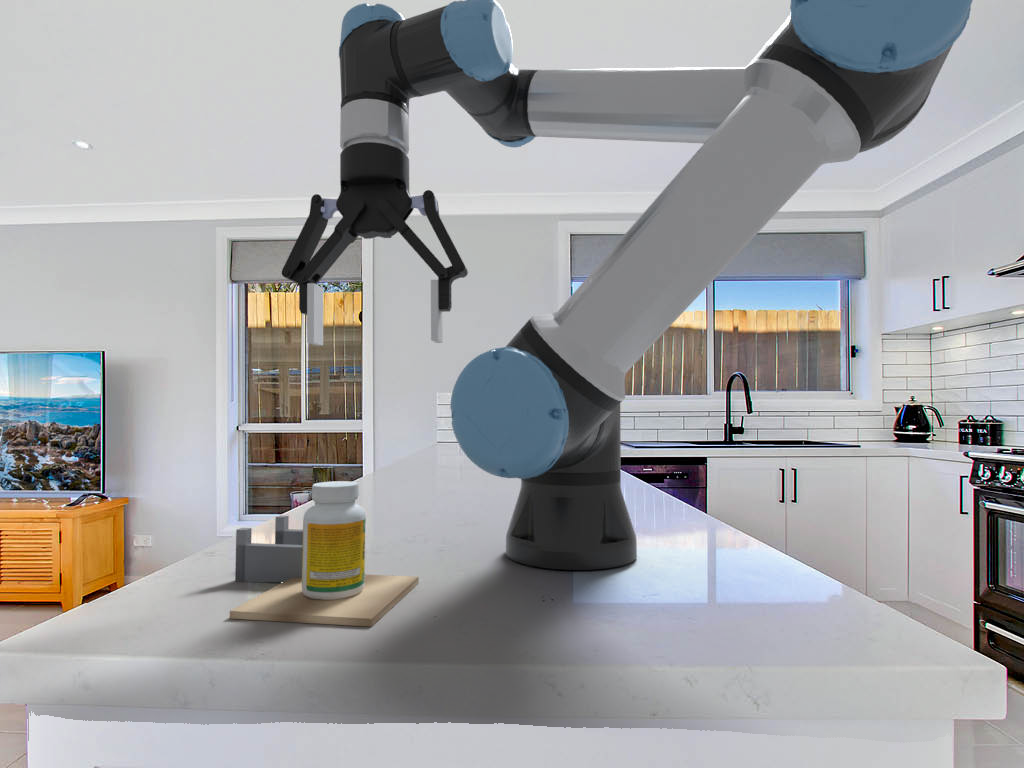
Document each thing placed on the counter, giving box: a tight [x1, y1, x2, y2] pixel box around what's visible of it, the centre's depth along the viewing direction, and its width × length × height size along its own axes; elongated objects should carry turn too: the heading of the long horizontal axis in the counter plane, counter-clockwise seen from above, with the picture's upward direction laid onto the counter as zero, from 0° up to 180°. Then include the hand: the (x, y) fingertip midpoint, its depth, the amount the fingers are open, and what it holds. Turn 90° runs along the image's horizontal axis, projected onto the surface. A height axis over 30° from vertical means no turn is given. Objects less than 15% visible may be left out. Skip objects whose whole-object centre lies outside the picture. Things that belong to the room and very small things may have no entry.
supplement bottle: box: [302, 480, 367, 600], centre depth 54 cm, size 5×5×10 cm
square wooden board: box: [229, 574, 420, 628], centre depth 54 cm, size 12×12×1 cm
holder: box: [234, 514, 303, 583], centre depth 63 cm, size 8×8×5 cm
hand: (375, 343), depth 66 cm, fingers open, 13 cm apart
